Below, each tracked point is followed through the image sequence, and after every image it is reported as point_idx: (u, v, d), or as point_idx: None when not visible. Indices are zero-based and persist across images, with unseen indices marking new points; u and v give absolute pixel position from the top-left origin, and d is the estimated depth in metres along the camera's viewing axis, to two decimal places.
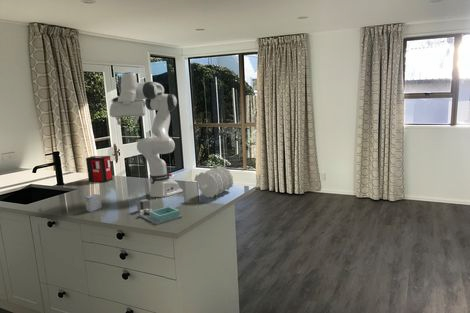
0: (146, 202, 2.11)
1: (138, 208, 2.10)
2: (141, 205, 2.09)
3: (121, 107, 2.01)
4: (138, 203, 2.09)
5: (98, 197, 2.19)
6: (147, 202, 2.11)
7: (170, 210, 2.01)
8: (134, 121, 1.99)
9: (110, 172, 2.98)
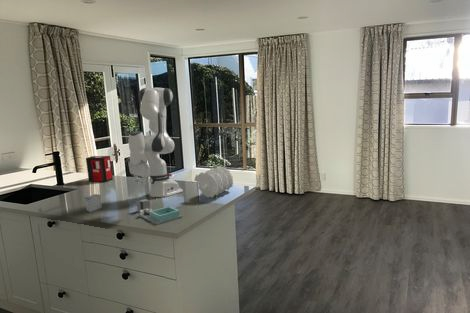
0: (146, 202, 2.11)
1: (138, 208, 2.10)
2: (141, 205, 2.09)
3: (134, 167, 2.09)
4: (138, 203, 2.09)
5: (98, 197, 2.19)
6: (147, 202, 2.11)
7: (170, 210, 2.01)
8: (142, 182, 2.05)
9: (110, 172, 2.98)
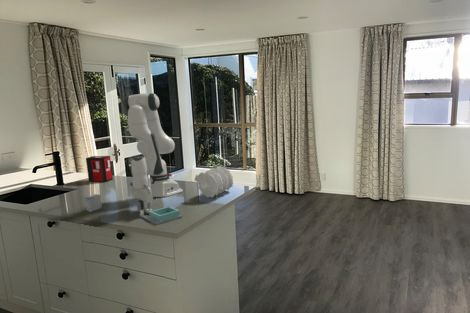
0: None
1: (138, 208, 2.10)
2: (141, 205, 2.09)
3: (137, 191, 2.12)
4: (138, 203, 2.09)
5: (98, 197, 2.19)
6: None
7: (170, 210, 2.01)
8: (143, 206, 2.09)
9: (110, 172, 2.98)
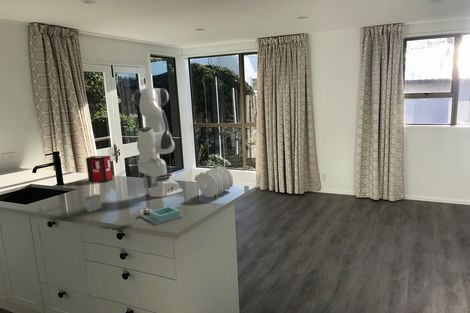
0: None
1: (145, 184, 1.95)
2: (148, 180, 1.93)
3: (144, 165, 1.96)
4: (145, 178, 1.94)
5: (98, 197, 2.19)
6: (155, 178, 1.96)
7: (170, 210, 2.01)
8: (151, 181, 1.93)
9: (110, 172, 2.98)
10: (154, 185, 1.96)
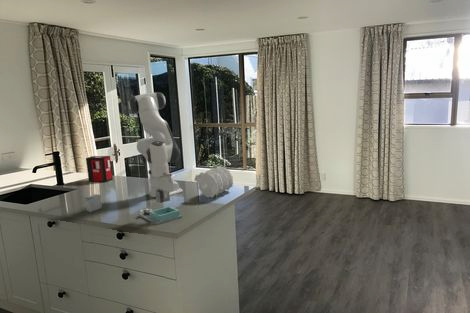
0: None
1: (157, 198, 1.93)
2: (161, 195, 1.91)
3: (156, 179, 1.94)
4: (157, 193, 1.92)
5: (98, 197, 2.19)
6: None
7: (170, 210, 2.01)
8: (163, 196, 1.92)
9: (110, 172, 2.98)
10: (166, 199, 1.94)
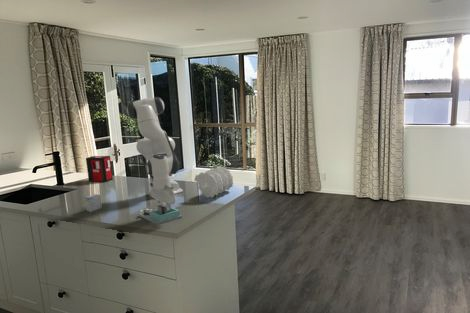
0: None
1: (159, 214, 1.95)
2: (162, 210, 1.93)
3: (157, 192, 1.96)
4: (159, 208, 1.94)
5: (98, 197, 2.19)
6: None
7: None
8: (166, 208, 1.92)
9: (110, 172, 2.98)
10: None
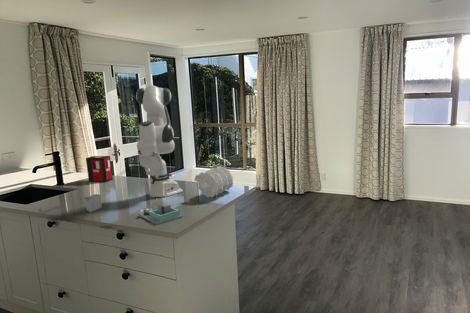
0: (167, 207, 1.95)
1: (159, 214, 1.95)
2: (162, 210, 1.93)
3: (145, 159, 1.98)
4: (159, 208, 1.94)
5: (98, 197, 2.19)
6: (169, 207, 1.95)
7: None
8: (155, 175, 1.94)
9: (110, 172, 2.98)
10: None
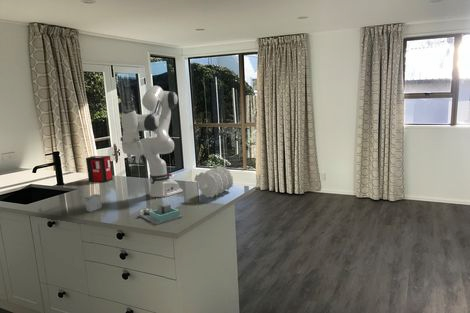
0: (167, 207, 1.95)
1: (159, 214, 1.95)
2: (162, 210, 1.93)
3: (127, 146, 2.07)
4: (159, 208, 1.94)
5: (98, 197, 2.19)
6: (169, 207, 1.95)
7: None
8: (135, 161, 2.03)
9: (110, 172, 2.98)
10: None
